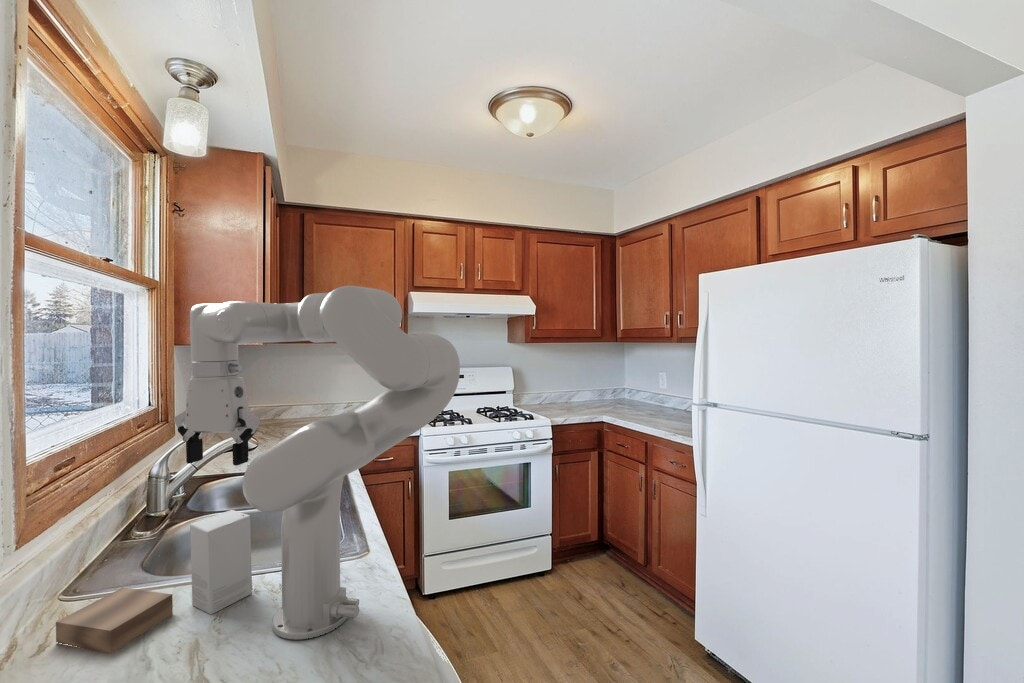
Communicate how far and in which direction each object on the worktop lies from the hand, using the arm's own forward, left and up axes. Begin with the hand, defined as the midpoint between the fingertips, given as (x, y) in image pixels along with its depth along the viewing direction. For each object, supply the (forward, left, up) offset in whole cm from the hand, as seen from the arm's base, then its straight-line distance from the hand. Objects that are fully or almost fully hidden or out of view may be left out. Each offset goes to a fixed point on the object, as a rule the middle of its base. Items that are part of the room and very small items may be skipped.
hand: (217, 462), depth 92 cm
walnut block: (+11, +10, -27) cm, 31 cm away
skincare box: (0, -1, -27) cm, 27 cm away
